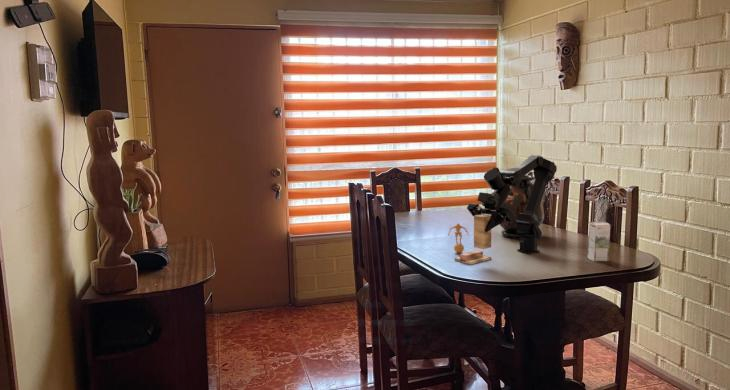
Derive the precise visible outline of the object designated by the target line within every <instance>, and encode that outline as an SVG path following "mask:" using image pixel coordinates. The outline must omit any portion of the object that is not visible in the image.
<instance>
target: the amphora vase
mask: <svg viewBox="0 0 730 390" xmlns="http://www.w3.org/2000/svg"><path fill="white" fill-rule="evenodd" d="M533 181H535V177H534V175H533V176H532V175H527V174H526V175H525V176H523V177H522V181H521V182H520V183H519V184H518V185H517V186H509V187H510V188H511V189H512V191H513V196H508V198H507V200H506V202H505V204H506V206H505V208H510V210H511V211H512V212H513V214H514V215H515V219H514V221H513V223H511V222H506V220H505V219H504V223H501V224H499V225H498V226H500V227H501V228H502V230H501V233H500V234H501V235H502V236H503V237H505V238H509V239H514V240H515V239H517V240H520V237H522V236H517V234H516V229H515V224H516V220H517V217H518V214H519V213H523V212H524V211H525V209H526V206H527V203H528V200H529V197H530V194H531V191H532V188H533V185H534V183H531V182H533ZM537 218H538V222H539V223H538V227H539V228H540V227H541V225H542V224H543V221H544V219H545V212H544V206H543V204H542V202H541V204H540V207H539V210H538V213H537Z"/></svg>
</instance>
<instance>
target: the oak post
mask: <svg viewBox="0 0 730 390" xmlns="http://www.w3.org/2000/svg"><path fill="white" fill-rule="evenodd" d="M490 219H491V215H488V214H480V215H475V216H473V248H474V249H475V248H476V249H479V250H480V249H481V250H486V249H490V248H492V229H491V230H489V231H488V232H485V228H486V226H487V224H488V222H489V220H490Z"/></svg>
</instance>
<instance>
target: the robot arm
mask: <svg viewBox="0 0 730 390" xmlns="http://www.w3.org/2000/svg"><path fill="white" fill-rule="evenodd" d="M557 169H558V167H557V165H556V163H555V162H554V161H551V160H549V159H546V158H544V157H543V156H541V155H535V154H534V155H529V156H528V158H526V159H525V160H523V161H522V162H520V163H519V164H518V165H515V167H511V168H507V169H504V170H501V171H500V168H499V167H493V168H492V169H489V170H488V171H487V172H485V173H484V174H483V175H484V176H483V179H484V181H485V183H486V184H487V185H488V186H489V188H490V189H491V190H493V192H491V193H490V192H489V193H488V192H481V191H480V192H479V193H478V196H477V202H480V203H481V205H482V207H481V206H480V204H479V203H473V202H471V203H468V204H467V207H466V210H468V212H469V213H470V214H471V216H472V217H474V216H475V215H480V214H484V215H491V219H490V220H489V222H488V224H487V226H486V228H485V232H488V231H489V230H491V231H492V230H493V229H494V228H495V227H497V226H500V225H499V224H501V223H504V219H505V220H506V222H511V223H513V221H514V219H515V215H514V214H513V212H512V211H511V210H510V208H505V206H506V204H505V202H506V200H507V198H508V196H513V191H512V189H511V188H510V187H509V186H517V185H518V184H519V183H520V182H521V181H522V177H523V176H525V175H527V174H529V173H530V172H531V171H533V176H534V177H535V180H534V182H533V188H532V191H531V194H530V197H529V200H528V203H527V206H526V209H525V211H524V212H523V213H519V214H518V217H517V220H516V224H515V229H516V234H517V236H522V237H520V239H519V249H516V250H517V252H522V253H525V254H535V253H540V250H539V249H538V239H540V238H542V234H543V232H542V231H541V229H540V227H538V223H539V222H538V218H537V213H538V210H539V207H540V204H541V203H542V200H543V197H544V194H545V191H546V189H547V185H548V184H549V182H551V181H552V180H553V179H554V177H555V174H556V173H557Z"/></svg>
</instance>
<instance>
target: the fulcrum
mask: <svg viewBox="0 0 730 390" xmlns="http://www.w3.org/2000/svg"><path fill="white" fill-rule="evenodd" d="M486 260H487V261H490V260H492V256H490V255H484V251H483V250H480V249H479V250H477V249H476V250H472V251H471V250H470V251H468V252H464V253H463V252H462V253H459V256H457V257H455V258H454V262H459V263H463V264H467V265H474V264H479V263H483V262H486ZM482 261H483V262H482Z"/></svg>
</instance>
